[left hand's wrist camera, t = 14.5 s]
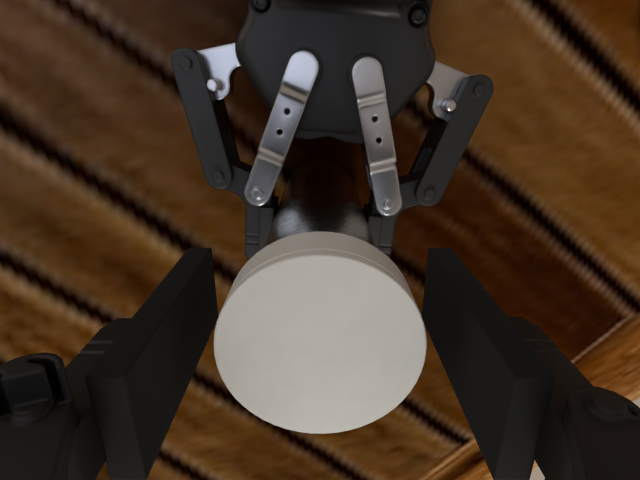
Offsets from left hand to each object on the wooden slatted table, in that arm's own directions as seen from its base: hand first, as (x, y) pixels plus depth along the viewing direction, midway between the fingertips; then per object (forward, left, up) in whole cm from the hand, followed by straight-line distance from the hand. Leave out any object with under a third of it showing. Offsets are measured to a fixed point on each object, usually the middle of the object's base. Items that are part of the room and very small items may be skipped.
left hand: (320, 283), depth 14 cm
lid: (0, 0, +4) cm, 4 cm away
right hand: (+1, -2, -7) cm, 7 cm away
